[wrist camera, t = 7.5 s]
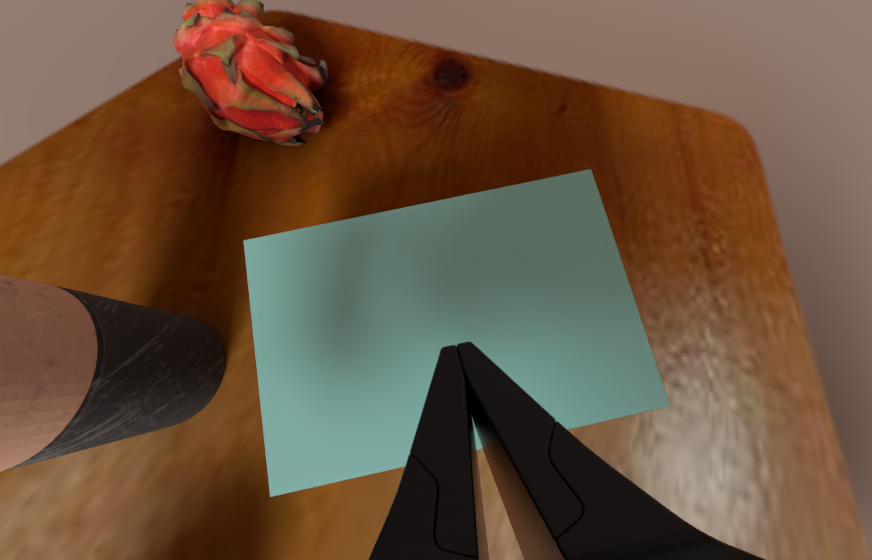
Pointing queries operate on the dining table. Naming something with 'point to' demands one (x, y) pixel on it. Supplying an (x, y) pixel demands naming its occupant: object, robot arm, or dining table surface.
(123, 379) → the travel mug
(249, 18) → the dragon fruit
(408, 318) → the mint green lid
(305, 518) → the dining table surface
